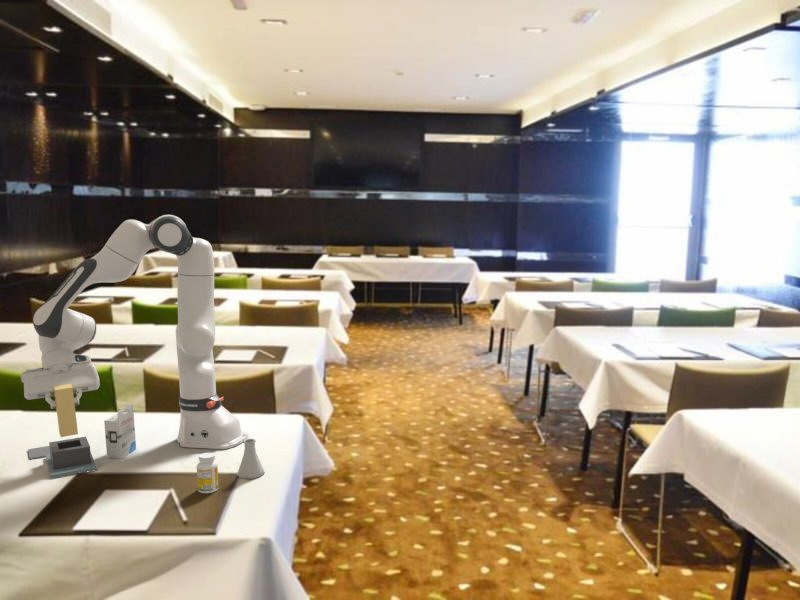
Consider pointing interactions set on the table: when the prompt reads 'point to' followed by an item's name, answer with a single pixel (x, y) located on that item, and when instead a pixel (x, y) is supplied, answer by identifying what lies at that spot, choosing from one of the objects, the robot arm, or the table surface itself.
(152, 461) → the table surface
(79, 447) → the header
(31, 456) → the pad
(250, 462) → the flask
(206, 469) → the supplement bottle
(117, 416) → the ink box
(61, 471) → the board
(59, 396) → the plug
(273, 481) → the table surface
